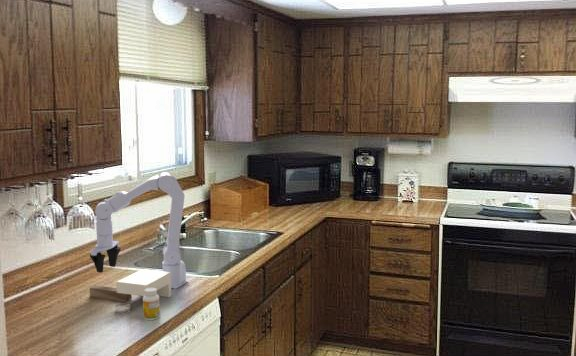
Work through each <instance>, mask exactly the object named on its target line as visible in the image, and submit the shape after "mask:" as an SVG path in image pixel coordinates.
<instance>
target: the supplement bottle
mask: <svg viewBox="0 0 576 356" xmlns="http://www.w3.org/2000/svg"><path fill="white" fill-rule="evenodd" d="M160 306H161V305H160V296H158V295H157V289H156V288H147V289H145V296H142V313H143V314H142V315H143V317H142V318H143V319H144V320H146V321H154V320H158V319H159V318H160V316H161V314H160V313H161V308H160Z"/></svg>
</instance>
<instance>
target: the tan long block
mask: <svg viewBox="0 0 576 356" xmlns="http://www.w3.org/2000/svg"><path fill="white" fill-rule="evenodd" d="M116 290H117V287H111V286H103V285H102V286H101V285H93V286H90V287H89V296H90V298H97V299H98V298H99V299H108V300H113V301H121V302H122V301H123V302H128V301H130V300H131V299H132V296H133V295H131V294H123V293H116Z"/></svg>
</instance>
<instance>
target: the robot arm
mask: <svg viewBox="0 0 576 356" xmlns="http://www.w3.org/2000/svg"><path fill="white" fill-rule="evenodd" d="M159 189H160V190H161V191H162V192H163V193H167V195H168V196H169V197H170V198H171V202H170V203H171V204H170V212H169V220H168V227H167V229H168V230H167V236H166V241H165V244H164V247H163V248H162V255H163V260H162V271H165V272H171V289H178V288H180V287H181V286H183V285H185V284H186V283H188V282H189V280H187V275H186V274H187V272H186V271H187V269H186V267H187V266H186V263H185V262H184V261H183V260H181V257H182V256H181V252H180V238H181V228H182V221H183V211H184V205H185V204H184V203H185V193H184V191H183V189H182V187H181V186H180V184H179V182H178V180H177V179H176V178H175V177H174V176H173V175H172V174H171V173H170V172H167V171H164V172H161V173H159V174H157V175H154V176H152V177H150V178H148V179H146V180H144V181H143V182H142V183H140V184H138V185H136V186H134V187H133V188H132V189H130V190H128V191H117V192H115V194H114V195H113V196H111V197H109V198H105V199H104V200H103V201H100V202H99V203H98V204H97V205H96V207H95V210H94V211H95V216H96V218H95V219H96V220H95V221H96V223H95V224H96V225H95V227H96V229H95V230H96V231H95V232H96V244H95V245H94V248H92V249H91V250H90V254H89V257H90V259H91V260H92V262H93V264H94V266H95V270H96V272H97V273H101V274H102V273H103V272H104V263H105V262H104V261H105V259H106V254H103V252H106V253H107V258H108V265H109V267H112V268H114V267H116V266H117V265H116V264H117V260H118V257H119V253H120V252H121V247H120V241H119V240H118V241H117V240H114V238H113V237H114V236H113V235H114V234H113V221H112V214H113V213H114V214H115V213H118V212H119V211H120V210H122V209H125V208H126V207H128V206H129V205H130V204H131V202H132V200H133V199H135V198H137V197H139V196H141V195H143V194H144V193H147V192H148V191H158V190H159Z"/></svg>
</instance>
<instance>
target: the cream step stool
mask: <svg viewBox="0 0 576 356" xmlns="http://www.w3.org/2000/svg"><path fill="white" fill-rule="evenodd" d="M116 288H117V290H116V293H123V294H131V295H132V296H139V297H144V296H145V289H147V288H156V289H157V295H158V296H159V297H165V298H170V297H171V296H172V288H171V272H165V271H163V270H155V269H146V268H142V269H140V270H138V271H136V272H134V273H131V274H130V275H128V276H126V277H123V278H121V279H119V280H116Z"/></svg>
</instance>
